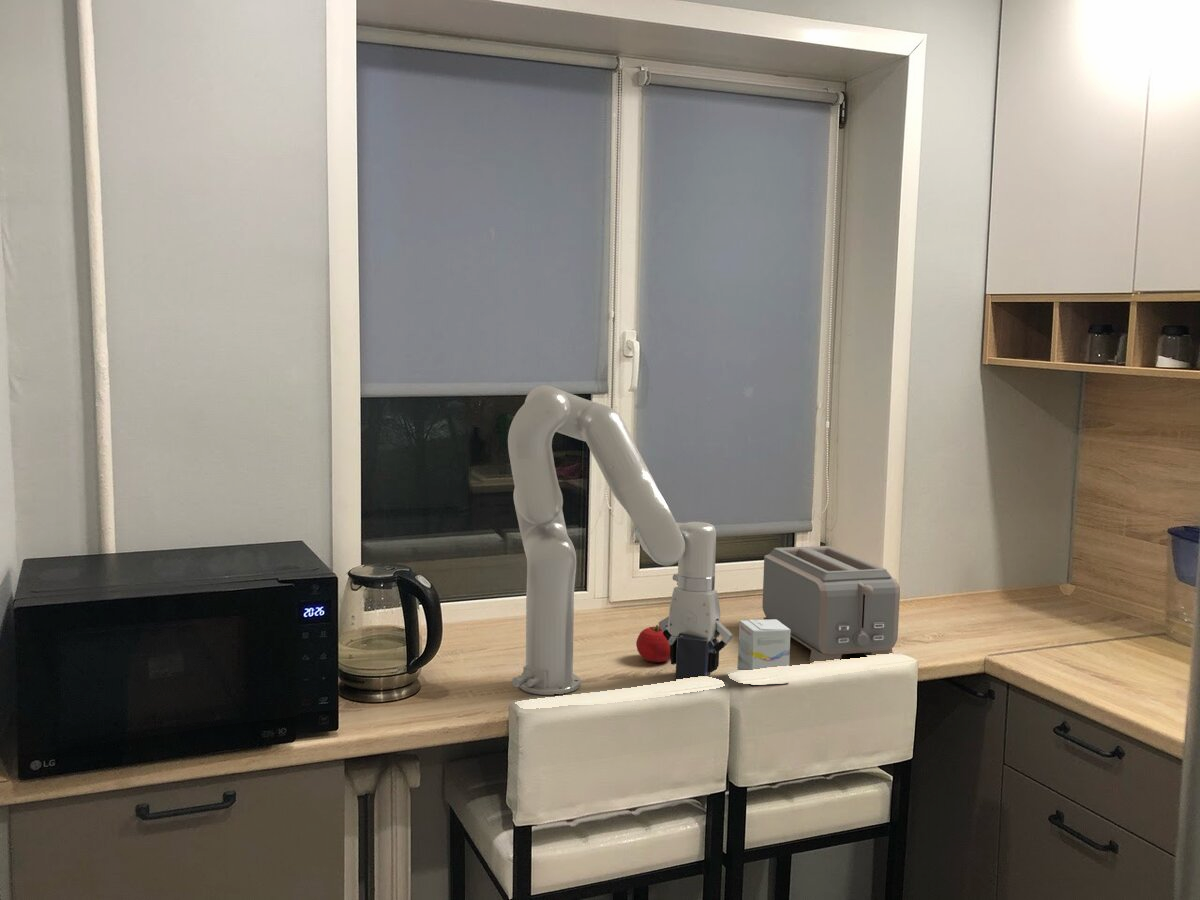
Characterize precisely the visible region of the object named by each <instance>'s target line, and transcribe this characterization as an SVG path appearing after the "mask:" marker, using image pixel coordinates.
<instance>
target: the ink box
mask: <svg viewBox="0 0 1200 900" xmlns="http://www.w3.org/2000/svg"><path fill="white" fill-rule="evenodd" d="M738 629H739V630H738V631H739V632H738V649H737V667H736V668H737V669H736V670H753V669H760V668H767V667H777V666H787V665H789V666H790V656H791V655H790V654H791V653H790V652H791V651H790V649H791V637H790V632H791V630H790V629H789V628H788V627H786V626H785V625H783V624H782V623H781V622H779V621H778V620H777V619H771V620H763V619H740V620H739V628H738Z"/></svg>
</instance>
